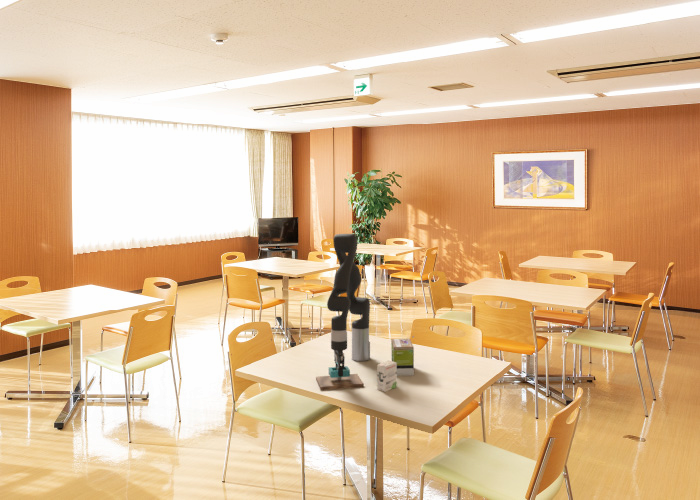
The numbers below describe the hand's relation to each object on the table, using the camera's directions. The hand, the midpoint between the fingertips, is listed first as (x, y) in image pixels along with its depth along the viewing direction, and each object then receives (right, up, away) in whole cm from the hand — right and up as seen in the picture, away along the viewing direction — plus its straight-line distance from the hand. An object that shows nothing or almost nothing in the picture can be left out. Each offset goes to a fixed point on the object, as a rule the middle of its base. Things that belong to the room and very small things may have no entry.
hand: (339, 373), depth 254 cm
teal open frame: (0, -1, 0) cm, 1 cm away
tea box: (+31, -3, +18) cm, 36 cm away
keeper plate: (0, -4, +1) cm, 5 cm away
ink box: (+22, -5, -6) cm, 23 cm away
